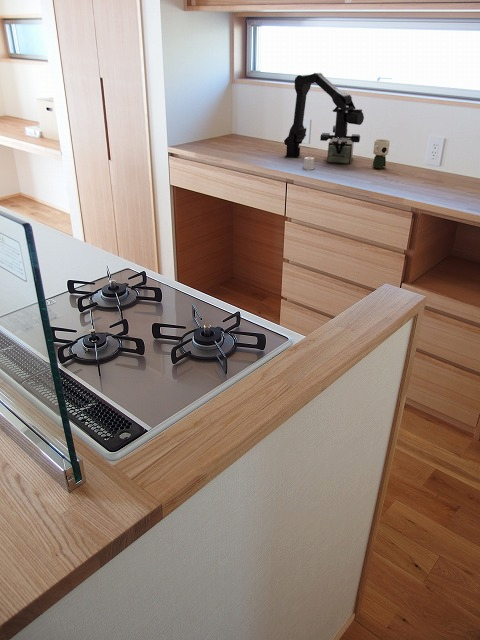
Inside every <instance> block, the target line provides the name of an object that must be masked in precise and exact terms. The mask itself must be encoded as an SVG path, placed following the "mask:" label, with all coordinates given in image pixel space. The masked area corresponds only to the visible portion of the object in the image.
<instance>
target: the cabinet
mask: <svg viewBox="0 0 480 640" xmlns="http://www.w3.org/2000/svg"><path fill="white" fill-rule="evenodd" d="M338 140H339V139H338ZM341 141H342V140H339V145H341ZM354 143H355V142H352V141H351V140H348V142H347V144H344V145H346V146H350V147H351V148H350V157H349V163H343V164H345V165H346V164H347V165H350V164H351V163H352V160H353V154H354ZM329 145H334V143H332V139H329V141H328V146H327V155H328V154H329ZM326 159H327V160H326V163H331V164H342V163H341V162H328V156H327V158H326Z"/></svg>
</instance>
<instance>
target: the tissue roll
mask: <svg viewBox="0 0 480 640" xmlns="http://www.w3.org/2000/svg"><path fill="white" fill-rule="evenodd" d="M303 159H304V160H303V169H304V170H306V171H310V170H314V169H315V157H312V156H306V157H304V158H303Z"/></svg>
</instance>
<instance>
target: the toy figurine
mask: <svg viewBox="0 0 480 640" xmlns="http://www.w3.org/2000/svg"><path fill="white" fill-rule="evenodd" d="M390 143H391V141H390V140H389V139H388V140H387V139H384V138H383V139H375V140H374V143H373V152H372V153H373V155H375V156H374V158H373V162H372V168H375V169H380V170H381V169H385V168H386V167H387V166H386V165H387V159H386V158H387V157H386V156H387V155H389V149H390Z"/></svg>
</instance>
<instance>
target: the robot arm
mask: <svg viewBox="0 0 480 640" xmlns="http://www.w3.org/2000/svg"><path fill="white" fill-rule="evenodd" d="M312 84H315V85H316V86H318V87H319V88H320V89H322V90H323V91H324V92H325V93H326V94H327V95H328V96H329V97H330V98H331V101H332V102H333V104H334V105H335V108H333V109H332V112H333V113H335V124H334V125H332V133H334V135H333V134H331V133H330V132H322V133H321V134H320V140H319V141H321V142H327V141H329V140H331V139H332V143H334V145H335V147H336V151H337V154H340V153H341V151H342V148H343V146H344V144H347V142H348V140H351V141H352V142H354V143H360V141H361V135H360V134H355V133H352V134H351V135H348V125H349V124H350V125H357V126H361V125H362V124H363V122H364V119H365V116H364V112H363V109H362V108H356V106H355V104H354V101H353V97H352V95H351V94H349V93H348V92H346V91H345V90H344V91H343V90H341V89H339V88H338V87H336V86H335V84H333V83H332V82H331V81H330V80H329V79H328V78H326V77H325V76H324V74H323V73H322V72H314V73H311V74H307V73H306V74H299V75H297V76H296V77H295V79H294V90H295V93H296V98H295V106H294V115H293V122H292V125H291V127H290V128H289V131H288V136H287V137H286V138H285V139H284V140H283V144H284V145H285V146H286V149H285V150H286V152H285V153H286V154H285V158H296V159H297V158H299V157H300V155H301V146H300V145H301V144H303V141H304V140H305V138H306V136H307V127H305V126H304V120H305V119H304V117H305V110H306V104H307V103H306V101H307V95H308V93H309V91H310V90H311V86H312ZM338 139H339V140H342V141H341V145H340V150H339V140H338Z"/></svg>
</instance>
